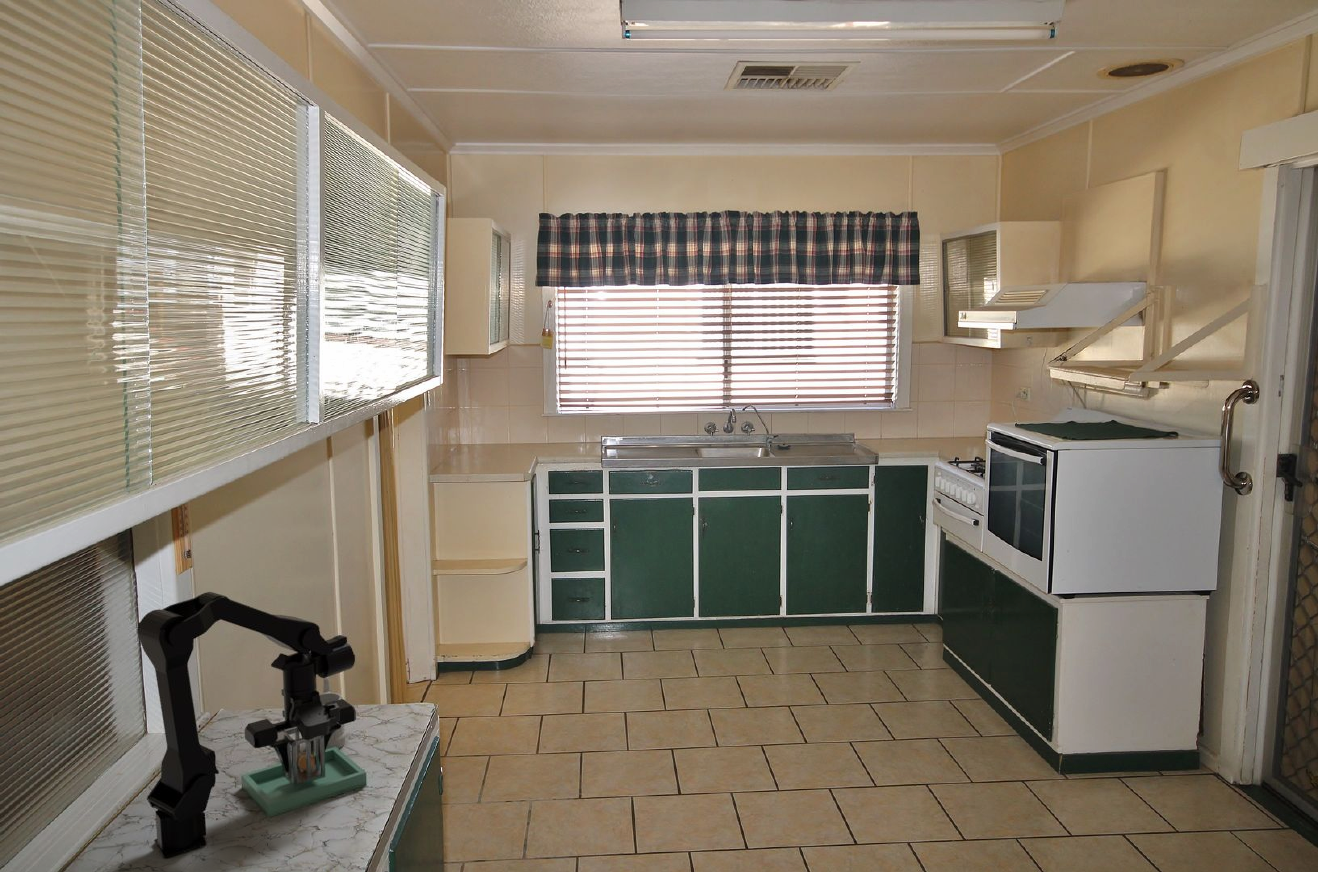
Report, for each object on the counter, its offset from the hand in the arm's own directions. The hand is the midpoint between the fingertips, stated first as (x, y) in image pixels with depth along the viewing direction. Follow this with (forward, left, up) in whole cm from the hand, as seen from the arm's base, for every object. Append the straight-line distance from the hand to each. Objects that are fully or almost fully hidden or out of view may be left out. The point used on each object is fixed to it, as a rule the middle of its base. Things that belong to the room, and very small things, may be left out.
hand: (303, 766), depth 178 cm
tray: (0, 0, -4) cm, 4 cm away
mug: (+11, +16, -4) cm, 20 cm away
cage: (0, 0, -2) cm, 2 cm away
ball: (+1, +1, 0) cm, 1 cm away
